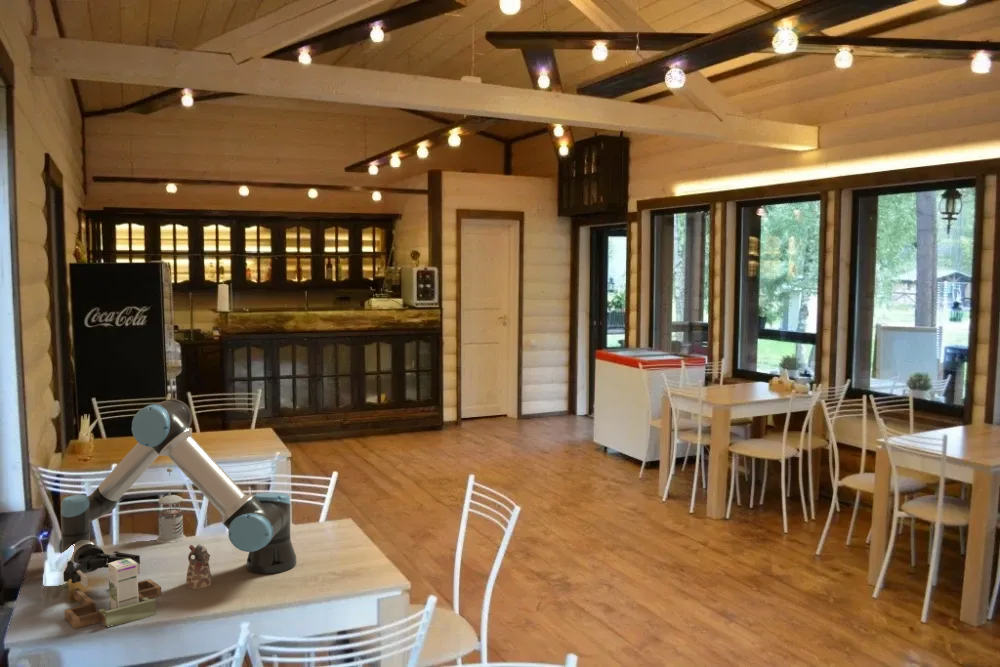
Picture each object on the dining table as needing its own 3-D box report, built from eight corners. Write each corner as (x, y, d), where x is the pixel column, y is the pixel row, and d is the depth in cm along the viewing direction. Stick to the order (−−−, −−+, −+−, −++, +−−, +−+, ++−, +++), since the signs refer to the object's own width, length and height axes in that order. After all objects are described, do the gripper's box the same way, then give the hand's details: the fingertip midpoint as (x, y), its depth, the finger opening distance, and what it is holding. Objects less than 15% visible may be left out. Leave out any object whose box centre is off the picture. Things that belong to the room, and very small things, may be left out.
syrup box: (139, 614, 215) (138, 562, 214) (117, 621, 210) (115, 567, 209) (131, 608, 218) (130, 556, 218) (108, 615, 214) (107, 562, 213)
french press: (151, 543, 273) (149, 471, 271) (163, 532, 284) (162, 463, 283) (180, 543, 273) (179, 471, 272) (191, 532, 285) (190, 463, 283)
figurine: (206, 589, 233) (205, 548, 232) (182, 588, 233) (181, 548, 232) (215, 580, 240) (215, 540, 239) (192, 579, 240) (191, 540, 239)
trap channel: (49, 603, 221) (49, 589, 221) (141, 580, 239) (141, 567, 238) (81, 635, 202) (80, 619, 202) (178, 607, 219) (178, 593, 219)
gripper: (131, 558, 244) (158, 577, 229) (39, 579, 226) (63, 601, 211) (130, 534, 243) (158, 551, 228) (39, 553, 226) (62, 573, 211)
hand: (112, 575), depth 220 cm, fingers open, 13 cm apart
